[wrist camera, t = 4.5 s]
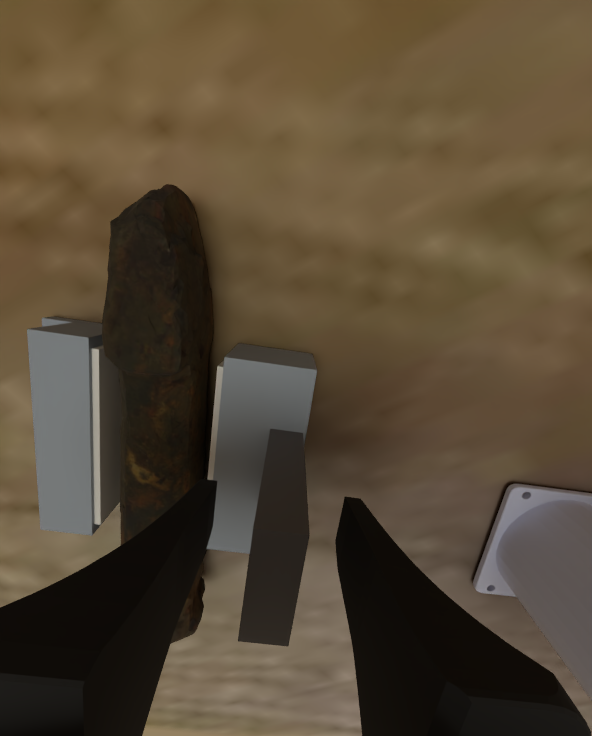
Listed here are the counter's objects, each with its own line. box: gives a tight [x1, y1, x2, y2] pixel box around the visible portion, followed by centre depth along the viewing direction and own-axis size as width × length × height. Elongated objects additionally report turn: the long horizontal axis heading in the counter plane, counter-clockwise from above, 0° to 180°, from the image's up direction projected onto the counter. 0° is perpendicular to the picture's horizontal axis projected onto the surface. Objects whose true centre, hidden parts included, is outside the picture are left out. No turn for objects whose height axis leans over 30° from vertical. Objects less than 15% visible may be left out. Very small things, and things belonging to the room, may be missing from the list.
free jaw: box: [207, 343, 317, 646], centre depth 13 cm, size 4×10×10 cm, turn 172°
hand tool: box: [102, 184, 213, 644], centre depth 15 cm, size 23×5×6 cm, turn 170°
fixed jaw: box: [27, 317, 122, 535], centre depth 16 cm, size 4×10×4 cm, turn 171°
